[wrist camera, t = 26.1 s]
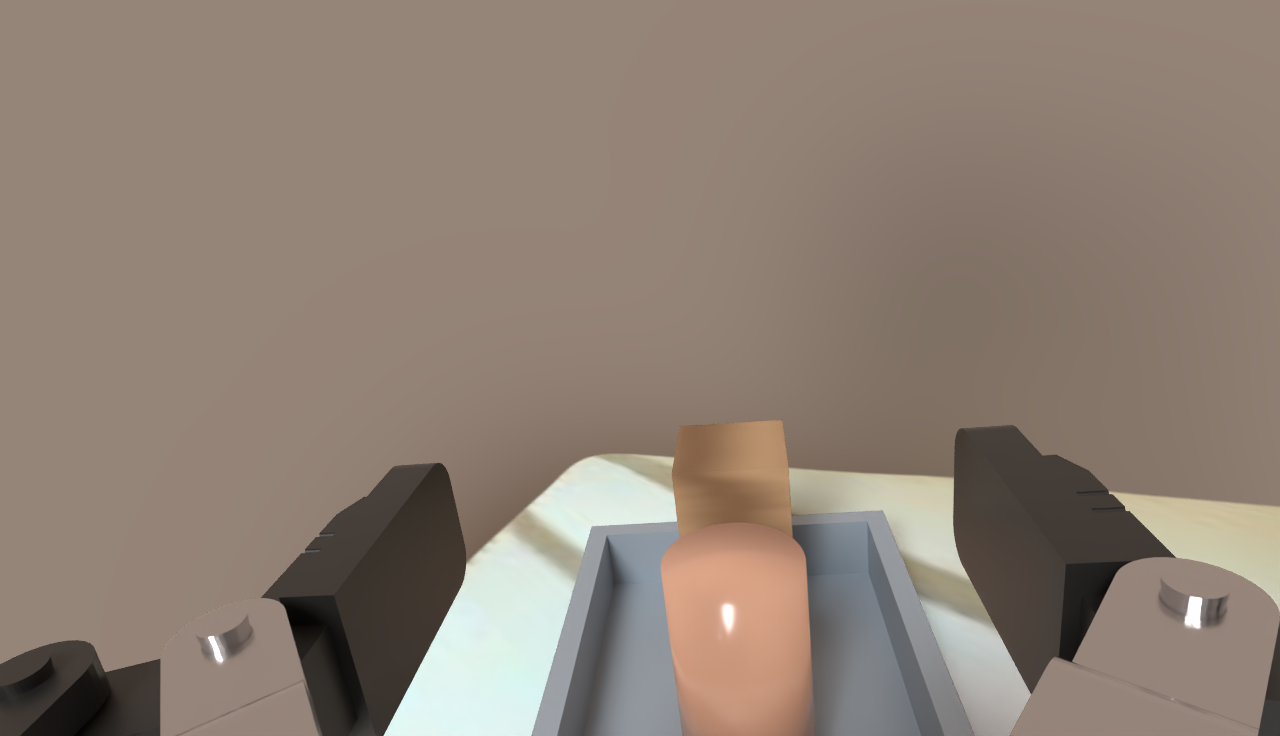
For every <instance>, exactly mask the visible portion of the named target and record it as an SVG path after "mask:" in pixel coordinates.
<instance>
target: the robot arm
mask: <svg viewBox="0 0 1280 736" xmlns="http://www.w3.org/2000/svg"><path fill="white" fill-rule="evenodd" d="M954 458H955V460H954V461H955V462H954V511H953V526H954V536H955V542H956V547H957V551H958V555H959V558H960V560H961V563H962V565H963V567H964V569H965V571H966V573H967V574H968V576H969V578H970V580H971V582H972V584H973V586H974V588H975V590H976V591H977V593H978V595H979V597H980V599H981V601H982V603H983V605H984V606H985V608H986V610H987V612H988V614H989V616H990V618H991V620H992V622H993V623H994V625H995V627H996V629H997V631H998V633H999V635H1000V637H1001V638H1002V640H1003V642H1004V644H1005V646H1006V648H1007V650H1008V652H1009V654H1010V655H1011V657H1012V659H1013V661H1014V663H1015V665H1016V667H1017V669H1018V671H1019V672H1020V674H1021V676H1022V678H1023V680H1024V682H1025V684H1026V686H1027V687H1028V689H1029V691H1030V693H1031V697H1030V699H1029V701H1028V702H1027V704H1026V706H1025V708H1024V710H1023V712H1022V714H1021V716H1020V717H1019V719H1018V721H1017V723H1016V725H1015V727H1014V729H1013V730H1012V732H1011V734H1010V736H1280V612H1279V609H1278V607H1277V605H1276V603H1275V602H1274V601H1273V599H1272V598H1271V597H1270V596H1269V595H1268V594H1267V593H1266V592H1265V591H1264V590H1262V589H1261V588H1260V587H1258V586H1257V585H1255V584H1254V583H1252V582H1251V581H1249V580H1247V579H1245V578H1244V577H1242V576H1239V575H1237V574H1235V573H1233V572H1231V571H1228V570H1225V569H1223V568H1220V567H1217V566H1214V565H1210V564H1207V563H1203V562H1198V561H1194V560H1188V559H1181V558H1176V557H1175V556H1174V555H1173V554H1172V553H1171V552H1170V551H1169V550H1168V549H1167V548H1166V547H1165V546H1164V545H1163V544H1162V543H1161V542H1160V541H1159V540H1158V539H1157V538H1156V537H1155V536H1154V535H1153V534H1152V533H1151V532H1150V531H1149V530H1148V529H1147V528H1146V527H1145V526H1144V525H1143V524H1142V523H1141V522H1140V521H1139V520H1138V519H1137V518H1136V517H1135V516H1134V515H1133V514H1132V513H1131V512H1130V511H1126V510H1125V506H1124V505H1123V504H1122V503H1121V502H1120V501H1119V500H1118V499H1117V498H1116V497H1115V496H1114V495H1113V494H1109V492H1108V489H1107V488H1106V487H1105V486H1103V484H1102V483H1101V482H1100V481H1098V480H1097V479H1096V478H1095V476H1093V474H1091V473H1090V472H1089V471H1088V470H1086V469H1084V468H1082V467H1080V466H1078V465H1076V464H1074V463H1072V462H1070V461H1068V460H1066V459H1064V458H1062V457H1060V456H1058V455H1047V456H1042V455H1041V454H1040V453H1039V451H1038V450H1037V449H1036V448H1035V447H1034V446H1033V445H1032V444H1031V443H1030V442H1029V441H1028V440H1027V438H1026V437H1025V436H1024V435H1023V434H1022V433H1021V432H1020V431H1019V430H1018V429H1017V428H1016V427H1015V426H1013V425H1006V426H991V427H976V428H961V429H959V430H958V432H957V434H956V439H955V457H954ZM465 570H466V551H465V544H464V540H463V535H462V531H461V526H460V522H459V517H458V513H457V508H456V504H455V499H454V495H453V491H452V486H451V482H450V478H449V474H448V472H447V470H446V468H445V467H444V465H443V464H441V463H431V464H416V465H401V466H395V467H393V468H392V469H391V470H390V471H389V472H388V473H387V474H386V475H385V477H384V478H383V479H382V480H381V481H380V482H379V483H378V485H377V486H376V487H375V488H374V489H373V490H372V491H371V493H370V494H369V495H368V496H367V497H363V498H362V499H360V500H359V501H357V502H355V503H354V504H352V505H351V506H349V507H348V508H346V509H344V510H343V511H341V512H340V513H339V514H337V515H336V516H335V517H334V518H333V519H332V520H331V521H330V523H329V524H328V525H327V526H326V527H325V528H324V529H323V530H322V531H321V532H320V537H316V538H315V539H314V540H313V541H312V542H311V543H310V545H309V546H308V547H307V548H306V549H305V553H302V554H300V555H299V557H298V558H297V559H296V560H295V561H294V562H293V563H292V564H291V565H290V566H289V568H288V569H287V570H286V571H285V572H284V573H283V574H282V575H281V576H280V577H279V578H278V580H277V581H276V582H275V583H274V584H273V585H272V586H271V587H270V588H269V590H268V591H267V592H266V593H265V594H264V595H263V596H262V597H261V598H253V599H246V600H241V601H237V602H233V603H230V604H227V605H224V606H221V607H219V608H216V609H214V610H212V611H209V612H207V613H206V614H203V615H201V616H200V617H198V618H196V619H195V620H193V621H191V622H190V623H189V624H187V625H186V626H184V627H183V628H182V629H181V630H179V631H178V632H177V633H176V634H175V635H174V636H173V637H172V638H171V639H170V640H169V641H168V643H167V644H166V646H165V647H164V649H163V651H162V654H161V659H158V660H154V661H150V662H146V663H142V664H137V665H134V666H130V667H125V668H121V669H117V670H113V671H109V672H105V671H104V669H103V667H102V665H101V662H100V660H99V658H98V655H97V653H96V651H95V648H94V647H93V646H92V645H91V644H90V643H87V642H85V641H78V640H76V641H63V642H57V643H53V644H49V645H46V646H42V647H39V648H36V649H33V650H31V651H28V652H25V653H23V654H21V655H19V656H16V657H14V658H12V659H10V660H8V661H6V662H4V663H2V664H0V736H384V734H385V732H386V730H387V728H388V726H389V724H390V722H391V720H392V718H393V716H394V714H395V712H396V711H397V709H398V707H399V705H400V703H401V701H402V699H403V697H404V695H405V693H406V691H407V689H408V688H409V686H410V684H411V682H412V680H413V678H414V676H415V674H416V672H417V670H418V668H419V666H420V664H421V663H422V661H423V659H424V657H425V655H426V653H427V651H428V649H429V647H430V645H431V643H432V641H433V640H434V638H435V636H436V634H437V632H438V630H439V628H440V626H441V624H442V622H443V620H444V618H445V616H446V615H447V613H448V611H449V609H450V607H451V605H452V603H453V601H454V599H455V597H456V595H457V593H458V592H459V590H460V588H461V586H462V583H463V580H464V576H465Z"/></svg>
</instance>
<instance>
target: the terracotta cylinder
mask: <svg viewBox="0 0 1280 736" xmlns="http://www.w3.org/2000/svg"><path fill="white" fill-rule="evenodd" d="M661 576H662V584H663V592H664V599H665V607H666V615H667V622H668V630H669V638H670V646H671V653H672V661H673V669H674V677H675V684H676V692H677V700H678V707H679V715H680V723H681V731H682V736H816V731H815V713H814V695H813V677H812V659H811V641H810V623H809V605H808V586H807V568H806V557H805V554H804V551H803V549H802V548H801V546H800V545H799V544H798V543H797V542H796V541H795V540H794V539H793V538H792V537H790V536H789V535H787V534H785V533H783V532H781V531H779V530H777V529H774V528H771V527H768V526H764V525H759V524H752V523H723V524H717V525H711V526H707V527H704V528H700V529H697V530H695V531H692V532H690V533H688V534H686V535H684V536H683V537H681V538H679V539H678V540H677V541H675V542H674V543H673V544H672V545H671V546H670V547H669V548H668V549H667V551H666V552H665V554H664V556H663V558H662V561H661Z"/></svg>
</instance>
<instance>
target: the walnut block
mask: <svg viewBox="0 0 1280 736" xmlns="http://www.w3.org/2000/svg"><path fill="white" fill-rule="evenodd" d="M672 479H673V487H674V496H675V504H676V513H677V521H678V530H679V538H681V537H683V536H684V535H686V534H688V533H690V532H692V531H695V530H697V529H700V528H704V527H707V526H711V525H717V524H723V523H752V524H759V525H764V526H768V527H771V528H774V529H777V530H779V531H781V532H783V533H785V534H787V535H789V536H790V537H792V538H793V535H792V519H791V502H790V486H789V470H788V461H787V454H786V447H785V440H784V433H783V425H782V420H776V421H760V422H743V423H727V424H712V425H711V424H710V425H693V426H680V429H679V436H678V441H677V447H676V453H675V458H674V464H673V470H672Z"/></svg>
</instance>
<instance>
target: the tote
mask: <svg viewBox="0 0 1280 736" xmlns="http://www.w3.org/2000/svg"><path fill="white" fill-rule="evenodd" d="M791 519H792V535H793V539H794V540H795V541H796V542H797V543H798V544H799V545H800V546H801V548H802V549H803V551H804V554H805V557H806V568H807V586H808V605H809V623H810V641H811V659H812V677H813V695H814V713H815V731H816V736H975V735H974V733H973V730H972V728H971V726H970V723H969V721H968V718H967V716H966V713H965V711H964V708H963V706H962V703H961V701H960V699H959V696H958V694H957V691H956V689H955V686H954V684H953V681H952V679H951V676H950V674H949V672H948V669H947V667H946V664H945V662H944V659H943V657H942V654H941V652H940V650H939V647H938V645H937V642H936V640H935V637H934V635H933V632H932V630H931V627H930V625H929V623H928V620H927V618H926V615H925V613H924V610H923V608H922V605H921V603H920V600H919V598H918V596H917V593H916V591H915V588H914V586H913V583H912V581H911V578H910V576H909V573H908V571H907V569H906V566H905V564H904V561H903V559H902V556H901V554H900V551H899V549H898V547H897V544H896V542H895V539H894V537H893V534H892V532H891V529H890V527H889V524H888V522H887V520H886V517H885V515H884V512H883V510H882V511H864V512H845V513H827V514H809V515H791ZM678 539H679V530H678V522H664V523H646V524H628V525H610V526H592V528H591V531H590V534H589V538H588V541H587V545H586V548H585V552H584V555H583V559H582V562H581V566H580V569H579V573H578V576H577V580H576V583H575V586H574V590H573V593H572V597H571V600H570V604H569V607H568V611H567V614H566V618H565V621H564V625H563V628H562V632H561V635H560V639H559V642H558V645H557V649H556V652H555V656H554V659H553V663H552V666H551V670H550V673H549V677H548V680H547V684H546V687H545V691H544V694H543V698H542V701H541V704H540V708H539V711H538V715H537V718H536V722H535V725H534V729H533V732H532V736H682V731H681V723H680V715H679V707H678V700H677V692H676V684H675V677H674V669H673V661H672V653H671V646H670V638H669V630H668V622H667V615H666V607H665V599H664V592H663V584H662V576H661V561H662V558H663V556H664V554H665V552H666V551H667V549H668V548H669V547H670V546H671V545H672V544H673V543H674V542H675V541H677V540H678Z"/></svg>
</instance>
